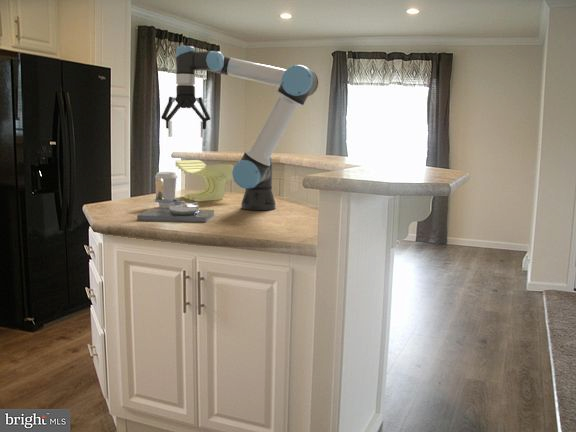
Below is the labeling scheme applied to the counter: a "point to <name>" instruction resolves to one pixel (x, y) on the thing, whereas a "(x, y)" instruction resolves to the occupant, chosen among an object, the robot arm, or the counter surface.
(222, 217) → the counter surface
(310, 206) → the counter surface
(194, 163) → the slatted curved stool
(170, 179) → the coffee cup
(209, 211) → the plate
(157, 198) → the lever with amber grip
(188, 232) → the counter surface
